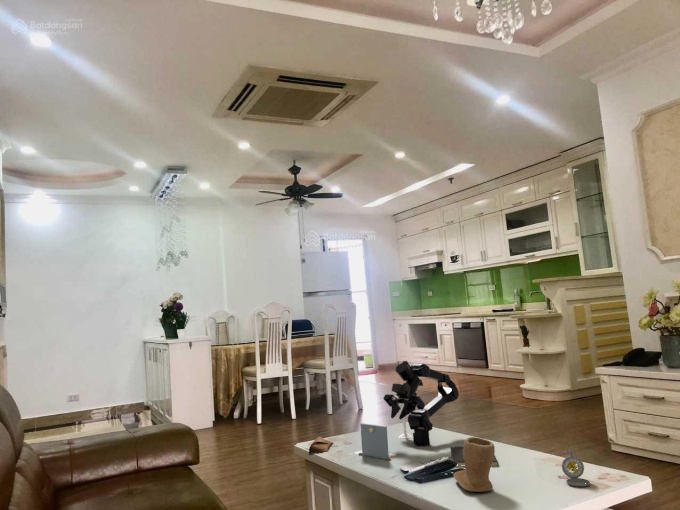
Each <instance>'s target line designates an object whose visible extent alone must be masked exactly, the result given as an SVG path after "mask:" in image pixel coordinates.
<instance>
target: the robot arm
mask: <svg viewBox="0 0 680 510" xmlns="http://www.w3.org/2000/svg"><path fill="white" fill-rule="evenodd" d="M395 372H396V373H397V375H398V376H399V377H400V379H401V380H402V381H403V383H392V386H391V392H394V393H396V394H395V395H397V396H398V398H396V396H395V395H394V394H391V393H390V394H389V393H386V394H384V396H383V398H382V399H383V401H384V402H385V403H386V404H387V406H389V407H391V411H390V418H391V419H394V418H395V417H396V416H397V415H398V414H399V420H403V418H404V417H405V418H406V417H407V416H408V417H407V422H408V426H409V429H410V430H413V431H414V432H412V436H413V437H412V440H413V441H412V442H413V444H414V446H416V447H418V446H419V447H423V446H431V441H430V431H432V430H433V426H434V425H433V423H432V422H431V419H430V418H431V417H432V416H434V414H436V413H437V412H438V411H439V410H440V409H441V408H443V406H445V405H446V404H448V403H452V402H455V401H456V400H458V399H459V396H460V393H459V390H458V387H457V384H456V383H455V382H453V381H452V379H451V377H450V375H449V374H447V373H443V372H440V371H437V370H435V369H431V368H430V366H429V365H428V364H425V363H412V364H411V365H410V364H409V362H408V360H402V362H401V363H399V364H398V365H397V366H395ZM420 378H426V379H430V380H432V381H435V382H437V396H436V397H435V398H433V399H432V400H430V401H429V403H428V404H425V402H424V400H423V399H422V397H420V396H418V393H417V390H418V388H419V386H420V387H423V386H424V383H423V379H420ZM443 383H445V385H446V386H444V385H443ZM399 403H400V404H404V407H403V409H402V411H401V414H400V413H399V410H400V409H401V408H400V407H399Z"/></svg>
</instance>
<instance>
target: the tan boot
mask: <svg viewBox="0 0 680 510" xmlns="http://www.w3.org/2000/svg"><path fill="white" fill-rule="evenodd" d="M463 441H464V442H463V446H464V449H463V456H464V461H465V466H464V467H465V469H462V470H458V471H456V472H454V473H453V477H454V480H456V482H457V483H458V485H460V487H461V488H462V489H464V490H465V491H467V492H474V493H475V492H476V493H477V492H478V493H480V492H481V493H482V492H488V491H492V490H493V484H492V482H491V480H490V477H489V475H490V472H491V467H492V466H491V465H492V462H493V459H494V455H495V452H496V449H495V445H494V442H492V441H491V440H488V439H484V438H482V437H476V436H469V437H466V438H465V440H463Z"/></svg>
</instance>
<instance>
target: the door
mask: <svg viewBox="0 0 680 510" xmlns="http://www.w3.org/2000/svg"><path fill="white" fill-rule="evenodd" d="M387 428H388V426H387V425H380V424H373V423H372V424H371V423H370V424H369V423H365V422H364V423H363V422H362V423H360V438H361V453H362V455H361V456H363V455H367V456H366V457H368V456H373V457H378V458H383V459H382V460H384V459H387V458H389V453H390V452H389V444H388V443H389V442H388V438H389V437H388V429H387ZM373 457H372V458H373ZM378 458H377V459H378Z"/></svg>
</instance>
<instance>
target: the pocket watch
mask: <svg viewBox="0 0 680 510" xmlns="http://www.w3.org/2000/svg"><path fill="white" fill-rule="evenodd" d="M569 450H570V451H569ZM575 452H576V449H575V448H572V447H571V448H570V447H568V448H567V449H566V453H568V454H569V456H566V457H565V458H564V459H563V461H562V462H561V470H562V472H563V474H564V475H565V476H566V477H568V478H567V479H566V484H568V485H570V486H572V487H579V488H582V487H588V486H590V484H591V481H590V480H588V479H585V478H580V477H581V476H582V475H583V473H584V471H585V465H584V463H583V461H582V460H581V459H580V458H579V457H578V456H574V454H575ZM585 483H586V484H585Z"/></svg>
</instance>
